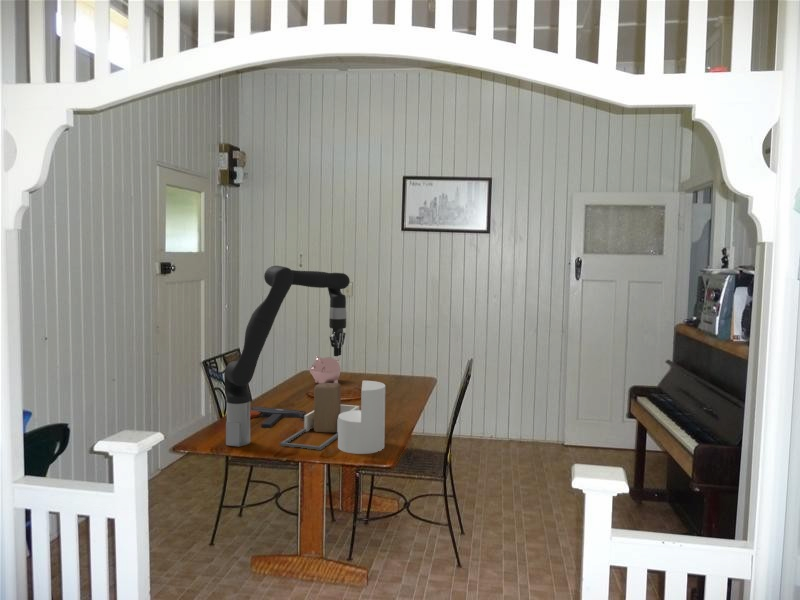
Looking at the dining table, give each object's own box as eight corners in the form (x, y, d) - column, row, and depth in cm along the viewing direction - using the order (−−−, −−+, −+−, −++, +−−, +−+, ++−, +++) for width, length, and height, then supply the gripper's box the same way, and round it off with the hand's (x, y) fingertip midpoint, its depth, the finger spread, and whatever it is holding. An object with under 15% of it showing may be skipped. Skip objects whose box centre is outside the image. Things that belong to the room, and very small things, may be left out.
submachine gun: (226, 419, 291) (255, 405, 315) (226, 425, 292) (255, 411, 315) (291, 425, 282) (315, 411, 306) (291, 431, 282) (315, 417, 306)
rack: (339, 435, 276) (339, 419, 276) (304, 431, 281) (304, 415, 280) (359, 421, 299) (359, 406, 299) (326, 417, 304) (326, 403, 303)
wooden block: (340, 427, 289) (341, 382, 287) (336, 433, 279) (336, 387, 277) (318, 426, 290) (318, 381, 288) (313, 432, 280) (313, 386, 278)
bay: (320, 450, 256) (320, 447, 256) (280, 445, 261) (280, 442, 260) (340, 435, 276) (340, 432, 276) (303, 431, 281) (303, 428, 281)
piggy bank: (306, 381, 383) (306, 354, 381) (335, 379, 390) (335, 353, 389) (314, 387, 369) (314, 359, 368) (344, 384, 376) (344, 357, 375)
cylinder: (386, 440, 270) (387, 381, 268) (382, 454, 252) (383, 391, 250) (341, 438, 272) (342, 379, 270) (334, 452, 253) (334, 389, 251)
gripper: (339, 319, 283) (339, 358, 285) (351, 316, 296) (350, 353, 298) (323, 318, 285) (323, 357, 287) (336, 315, 299) (335, 352, 300)
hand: (337, 355), depth 292 cm, fingers closed
